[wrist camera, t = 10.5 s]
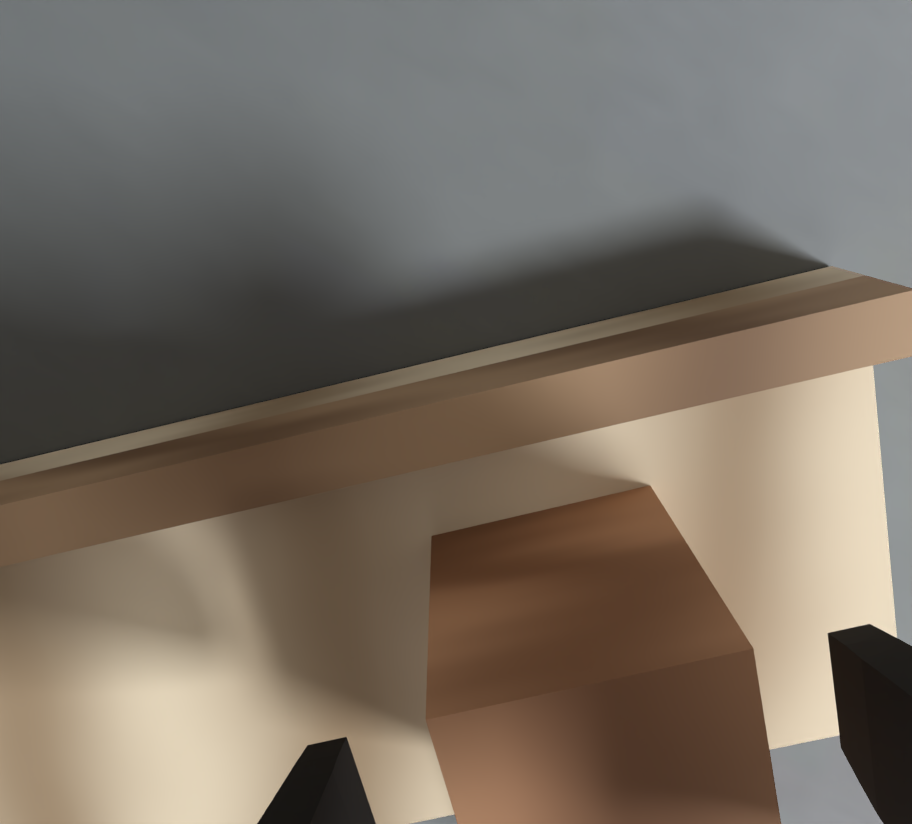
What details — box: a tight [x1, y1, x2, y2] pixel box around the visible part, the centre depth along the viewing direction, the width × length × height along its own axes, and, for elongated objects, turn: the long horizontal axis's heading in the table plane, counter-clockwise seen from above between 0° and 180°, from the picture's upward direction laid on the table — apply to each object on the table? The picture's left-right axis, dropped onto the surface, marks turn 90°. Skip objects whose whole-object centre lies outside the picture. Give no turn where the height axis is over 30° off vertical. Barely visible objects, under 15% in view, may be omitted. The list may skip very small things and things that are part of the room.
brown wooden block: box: [426, 485, 781, 824], centre depth 13 cm, size 4×9×5 cm, turn 14°
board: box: [0, 266, 912, 824], centre depth 15 cm, size 22×9×3 cm, turn 104°
